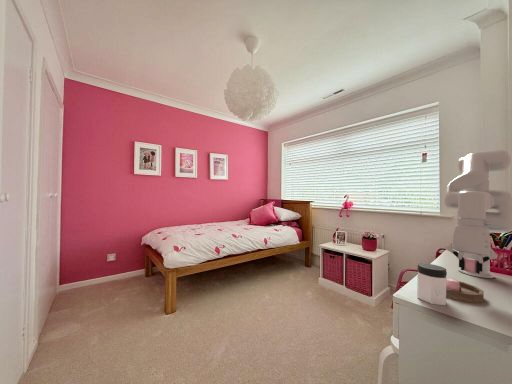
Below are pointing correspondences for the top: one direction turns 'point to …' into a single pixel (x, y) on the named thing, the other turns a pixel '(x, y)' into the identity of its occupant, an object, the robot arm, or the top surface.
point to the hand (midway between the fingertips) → (470, 270)
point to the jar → (431, 283)
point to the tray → (466, 293)
